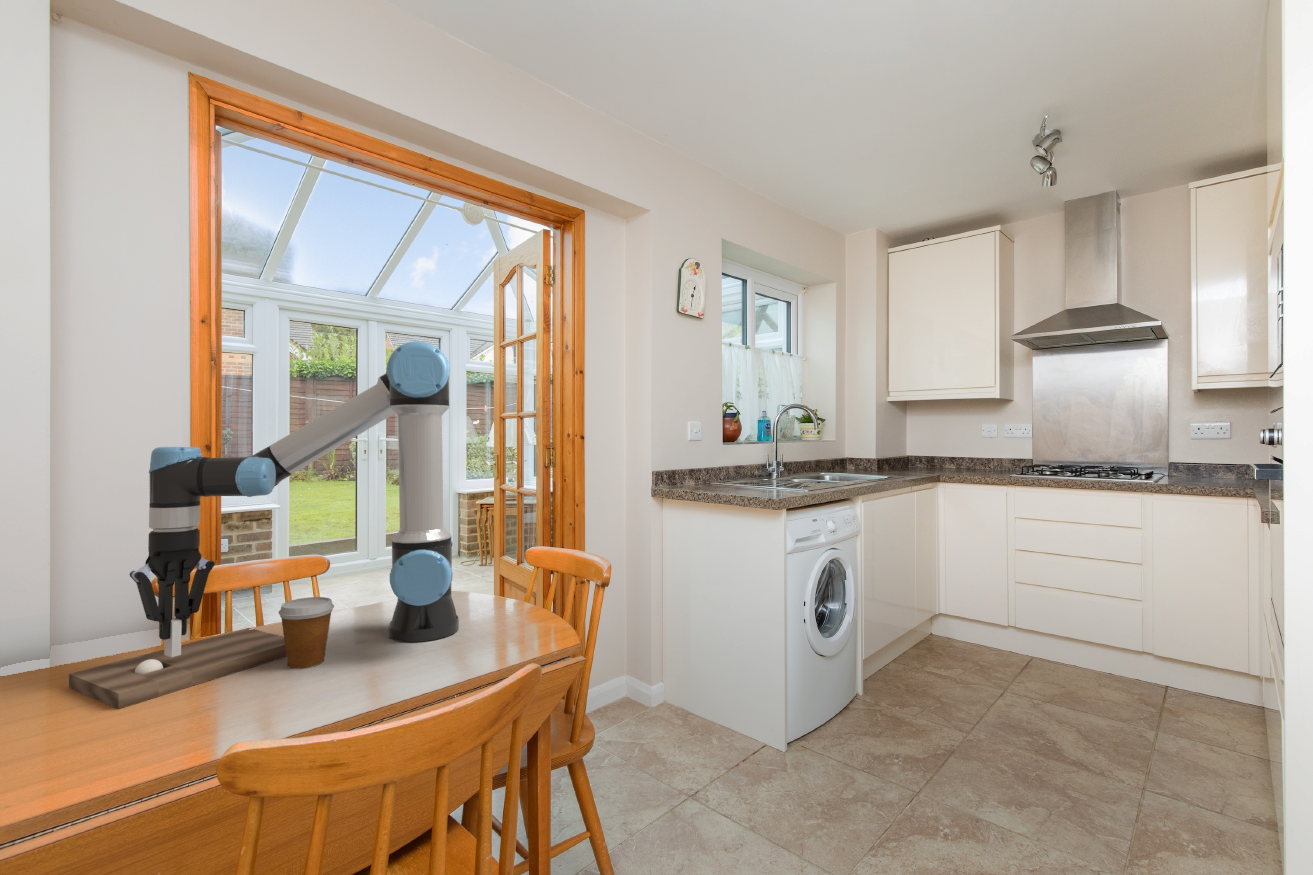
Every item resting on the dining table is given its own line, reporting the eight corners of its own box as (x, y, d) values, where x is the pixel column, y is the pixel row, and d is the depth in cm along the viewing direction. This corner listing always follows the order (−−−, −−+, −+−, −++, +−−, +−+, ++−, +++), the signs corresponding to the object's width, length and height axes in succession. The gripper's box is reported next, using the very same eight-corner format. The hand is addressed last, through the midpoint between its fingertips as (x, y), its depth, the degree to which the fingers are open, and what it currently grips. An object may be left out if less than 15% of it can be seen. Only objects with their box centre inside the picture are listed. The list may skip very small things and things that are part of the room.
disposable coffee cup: (308, 673, 113) (309, 610, 113) (265, 669, 115) (266, 607, 115) (344, 656, 123) (344, 597, 123) (304, 652, 124) (304, 595, 125)
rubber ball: (168, 678, 111) (163, 665, 108) (141, 691, 108) (135, 678, 106) (161, 663, 112) (155, 650, 110) (134, 675, 110) (128, 662, 107)
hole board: (298, 652, 125) (299, 640, 125) (118, 708, 98) (118, 693, 98) (248, 639, 133) (248, 627, 133) (68, 687, 106) (69, 673, 106)
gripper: (202, 523, 120) (200, 641, 120) (121, 531, 108) (119, 662, 108) (224, 526, 117) (222, 647, 116) (142, 534, 105) (140, 669, 105)
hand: (172, 654), depth 112 cm, fingers closed
